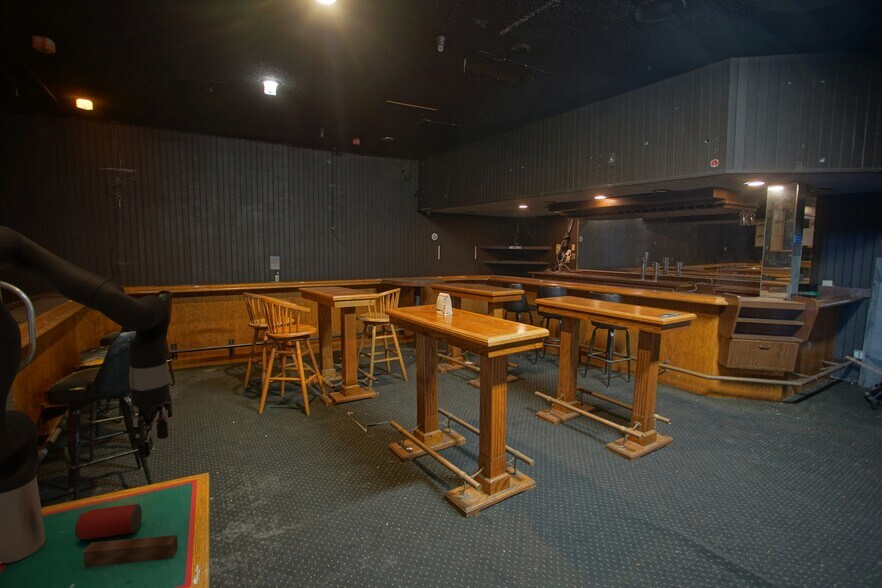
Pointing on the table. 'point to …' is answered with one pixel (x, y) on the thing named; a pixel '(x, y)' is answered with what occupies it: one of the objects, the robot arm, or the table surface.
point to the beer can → (108, 521)
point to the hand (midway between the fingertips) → (154, 447)
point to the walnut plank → (130, 550)
